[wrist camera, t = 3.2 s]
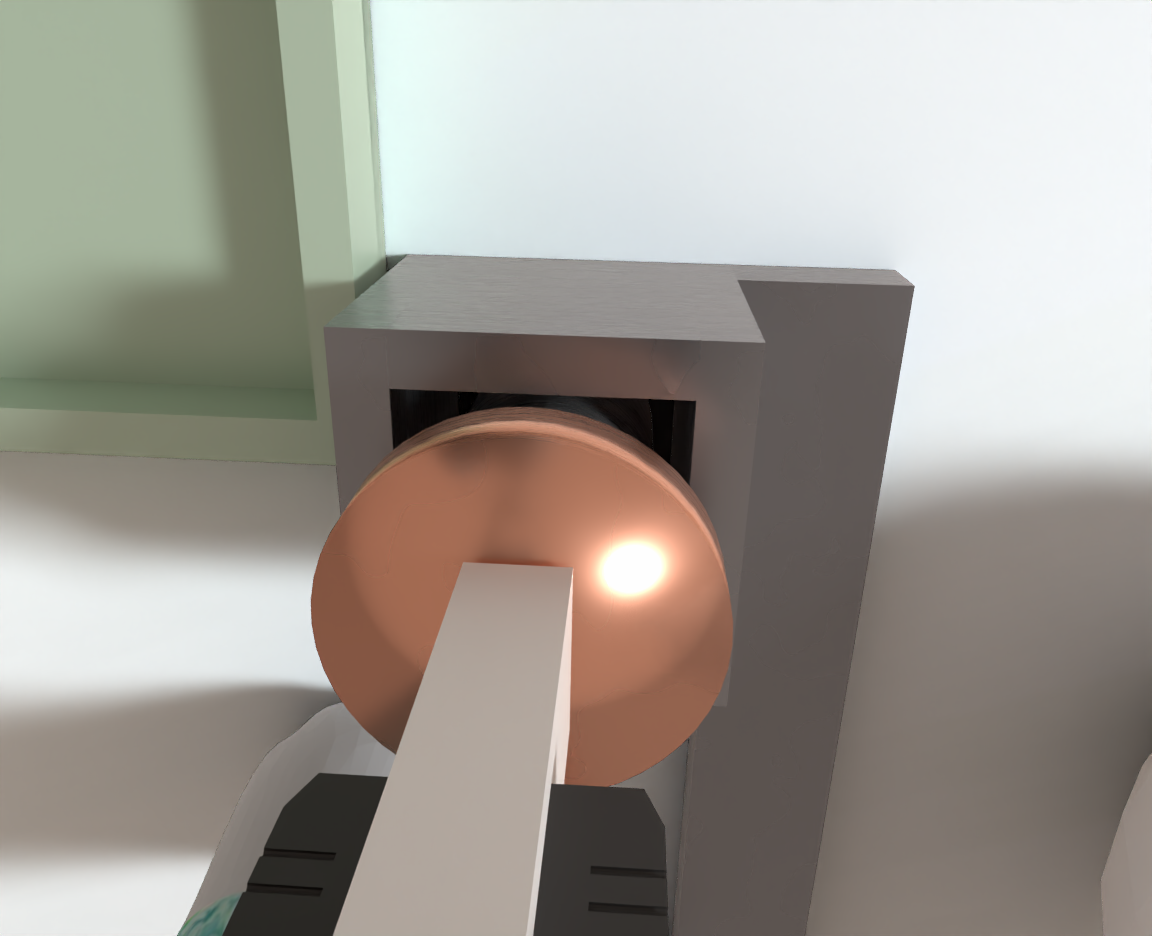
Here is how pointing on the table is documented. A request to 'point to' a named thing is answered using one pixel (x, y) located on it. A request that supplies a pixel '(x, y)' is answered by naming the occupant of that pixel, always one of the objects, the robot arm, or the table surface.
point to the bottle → (279, 805)
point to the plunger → (539, 538)
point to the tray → (182, 222)
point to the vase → (1131, 865)
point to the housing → (716, 475)
